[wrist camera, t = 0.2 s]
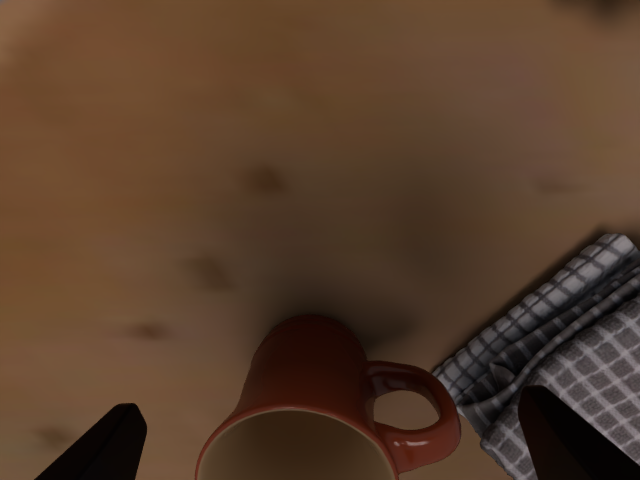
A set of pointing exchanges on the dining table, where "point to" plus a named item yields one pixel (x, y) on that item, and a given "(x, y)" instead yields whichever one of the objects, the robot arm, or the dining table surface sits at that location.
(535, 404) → the robot arm
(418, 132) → the dining table surface
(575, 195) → the dining table surface
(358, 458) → the mug
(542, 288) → the towel
